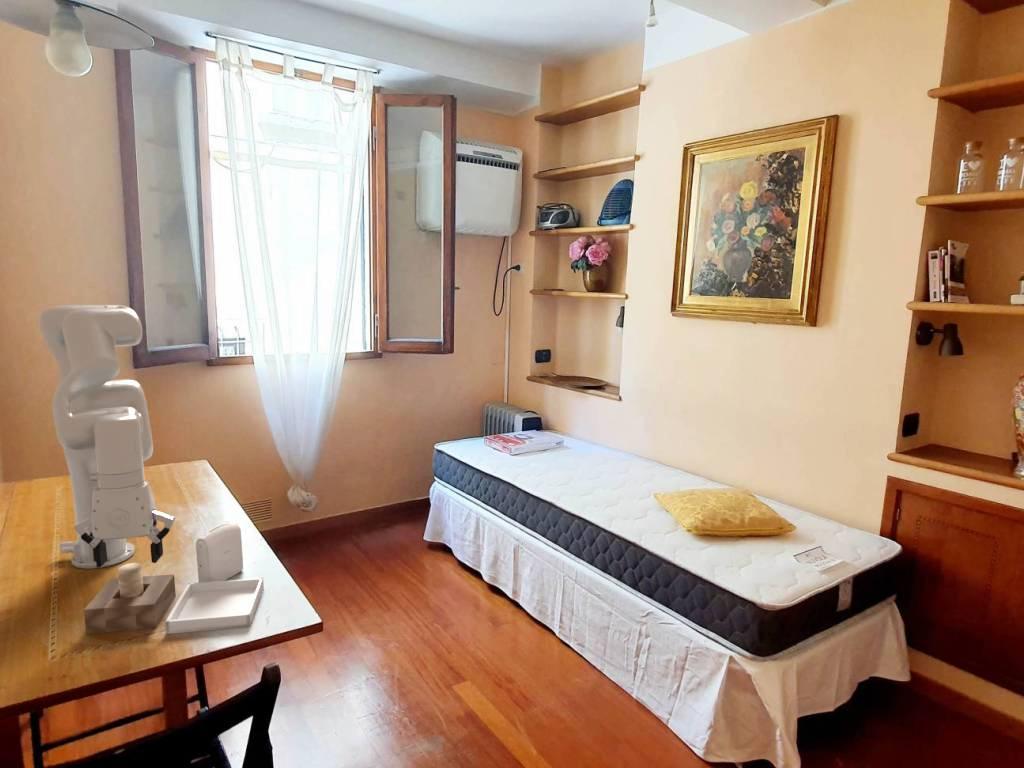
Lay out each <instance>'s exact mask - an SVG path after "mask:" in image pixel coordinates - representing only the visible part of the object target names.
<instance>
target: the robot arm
mask: <svg viewBox="0 0 1024 768" xmlns="http://www.w3.org/2000/svg"><path fill="white" fill-rule="evenodd" d="M39 328H40V332H41V336H42V338H43V340H44V342H45V345H46V347H47V349H48V350H49V352H50V354H51V355H52V357H53V358H54V361H55V362H56V364H57V367H58V371H59V377H60V383H59V385H58V386H57V387H56V389H55V391H54V394H53V395H52V396H53V397H52V400H51V401H52V402H51V403H52V404H51V410H52V417H53V423H54V427H55V432H56V437H57V439H58V440H57V441H58V442H59V444H60V445H61V447H62V448H63V449H62V450H63V455H64V459H65V461H66V465H67V467H68V468H67V469H68V472H69V476H70V482H71V489H72V490H71V491H72V497H73V498H72V499H73V508H74V516H75V517H74V518H75V526H74V529H75V531H76V536H77V540H75V541H61V542H60V544H59V550H60V554H69V553H72V554H73V556H71V565H72V566H74V567H75V568H78V569H84V570H85V569H91V570H92V569H99V568H105V567H110V566H113V565H116V564H120V563H122V562H124V561H127V560H128V559H129V558H131V557H132V556H133V555H134V554H135V552H136V551H135V550H136V549H135V545H134V544H133V543H132V542H128V541H127V539H134V538H135V539H137V538H143V537H147V538H148V539H149V540H150V541H151V544H150V545H149V546H150V547H149V548H150V558H151V559H150V560H151V563H152V564H156V563H158V561H159V560H160V558H162V557H163V555H164V550H163V549H164V548H163V547H164V546H163V539H164V538H165V537H166V536H167V535H168V534H169V533H170V531H171V530H172V527H173V526H174V524H175V522H176V518H175V517H174V516H172V515H169V514H166V513H164V512H161V511H158V510H157V509H156V504H155V498H154V493H153V491H152V488H151V484H150V483H149V481H148V480H145V468H144V466H145V465H144V462H145V461H147V460H149V459H150V458H151V457H152V455H153V453H154V442H153V435H152V434H153V433H152V428H151V424H150V422H151V421H150V417H149V411H148V403H147V399H146V395H145V391H144V389H143V387H142V385H141V384H140V383H139V382H138V381H136V380H133V379H127V378H126V379H115V378H116V377H117V376H118V375H119V374H120V370H121V365H120V364H121V363H120V361H119V356H118V354H117V349H116V347H134V346H137V345H139V344H140V343H141V341H142V339H143V326H142V322H141V319H140V317H139V315H138V314H137V312H136V311H135V310H134V309H132V308H131V307H128V306H126V305H123V304H68V305H66V304H65V305H55V306H50V307H48V308H46V309H44V310H42V311H41V313H40V315H39ZM158 522H161V523H163V524H164V526H163V528H162V529H161V530H160V529H159V528H158V527H157V525H158Z"/></svg>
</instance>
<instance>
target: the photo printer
mask: <svg viewBox="0 0 1024 768" xmlns="http://www.w3.org/2000/svg"><path fill="white" fill-rule="evenodd" d="M195 552H196V565H197V566H196V567H197V575H198V577H197V578H198V583H199V582H212V581H226V580H228V579H230V578H232V577H234V576H235V575H237V574H238V573H240V572H241V571H242V570H244V562H243V561H244V559H243V557H244V556H243V543H242V532H241V527H240V526H239V524H238V523H234V522H224V523H221V524H218V525H216V526H213V527H211V528H210V529H208V530H207V531H205V532H204V533H203V534H201V535H200V536H199V537H198V538H197V540H196V542H195Z"/></svg>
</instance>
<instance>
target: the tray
mask: <svg viewBox="0 0 1024 768" xmlns="http://www.w3.org/2000/svg"><path fill="white" fill-rule="evenodd" d="M264 584H265V583H264V577H254V578H241V579H239V578H238V579H231V580H230V579H229V580H228V579H227V580H225V581H212V582H199V581H198V582H189V583H187V585H186V587H185V588H184V590H183V592H182V593H181V594H180V596H179V598H178V600H177V602H176V603H175V605H174V606H173V608H172V609H171V611H170V613H169V615H168V617H167V618H166V619H165V621H164V626H165V635H168V634H170V635H171V634H180V633H193V632H203V631H213V630H215V631H216V630H224V629H225V630H226V629H235V628H236V629H237V628H248V627H251V625H252V622H253V619H254V616H255V614H256V611H257V609H258V605H259V602H260V600H261V597H262V595H261V594H263V592H262V591H264V589H263V588H265V587H264V586H265V585H264Z"/></svg>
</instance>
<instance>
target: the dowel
mask: <svg viewBox="0 0 1024 768" xmlns="http://www.w3.org/2000/svg"><path fill="white" fill-rule="evenodd" d="M117 575H118V578H119V589H120V598H129V597H141V596H142V595H143V593H144V590H143V577H144V576H143V565H142V563H139V562H131V563H126V564H124V565H123V564H122V565H121V566H120V567H118V568H117Z"/></svg>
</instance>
